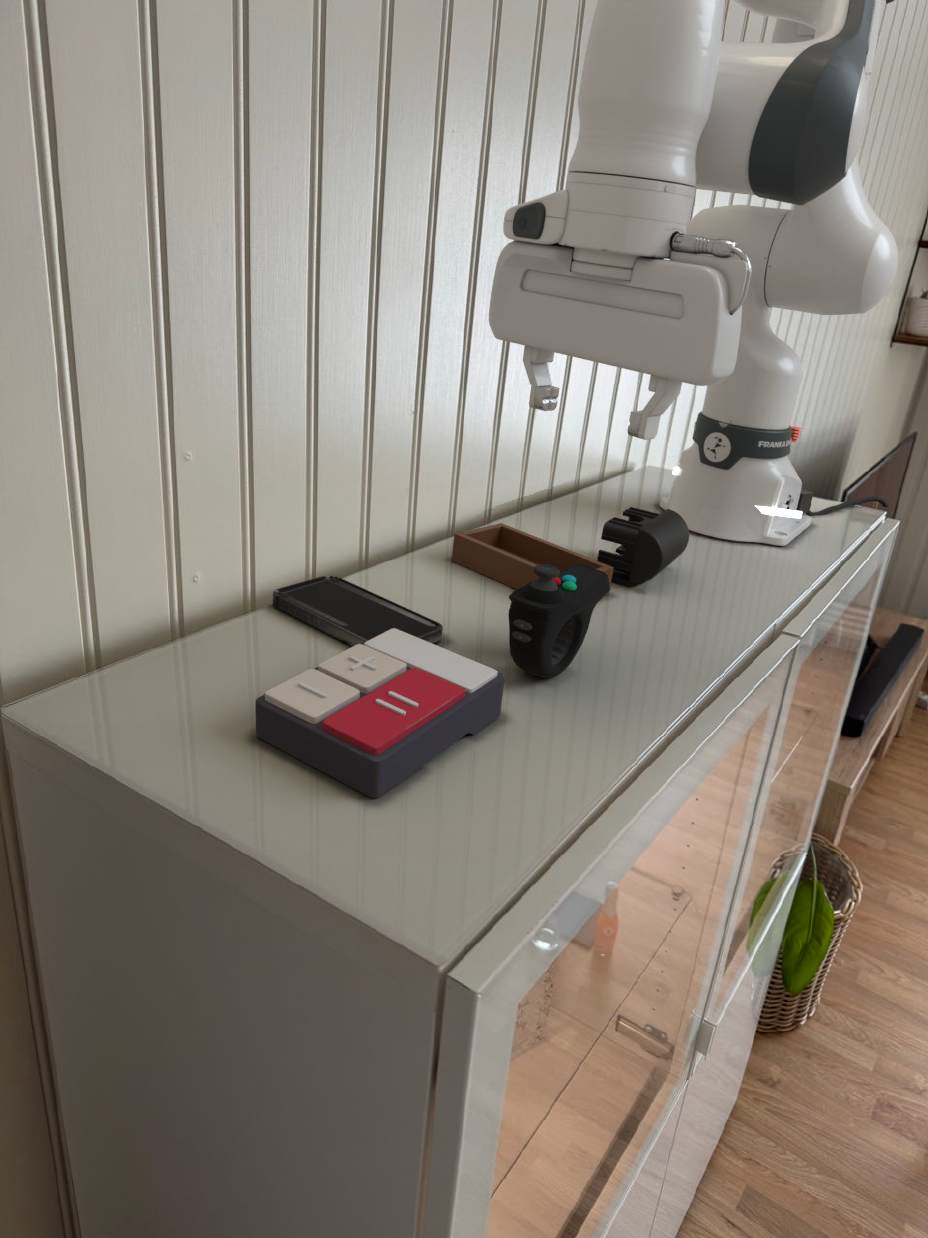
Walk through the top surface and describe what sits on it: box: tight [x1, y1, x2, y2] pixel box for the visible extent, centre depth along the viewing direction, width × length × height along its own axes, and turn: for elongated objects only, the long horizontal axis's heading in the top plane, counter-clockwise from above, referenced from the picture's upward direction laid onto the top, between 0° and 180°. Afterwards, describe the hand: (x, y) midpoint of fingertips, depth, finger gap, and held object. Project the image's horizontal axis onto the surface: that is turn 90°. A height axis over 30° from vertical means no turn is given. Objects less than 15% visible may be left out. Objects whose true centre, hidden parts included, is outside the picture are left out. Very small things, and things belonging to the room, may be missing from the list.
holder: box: [451, 522, 614, 597], centre depth 98 cm, size 8×16×3 cm, turn 46°
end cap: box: [596, 506, 690, 588], centre depth 102 cm, size 10×7×7 cm
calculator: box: [254, 628, 505, 799], centre depth 66 cm, size 11×4×15 cm
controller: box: [508, 564, 611, 679], centre depth 77 cm, size 4×12×10 cm, turn 146°
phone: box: [272, 575, 444, 647], centre depth 83 cm, size 8×1×15 cm
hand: (589, 422), depth 71 cm, fingers open, 8 cm apart
